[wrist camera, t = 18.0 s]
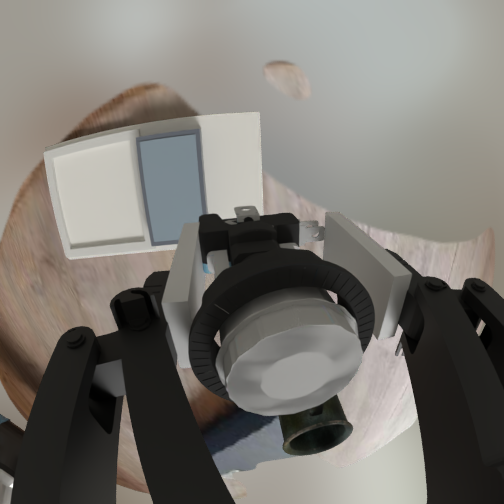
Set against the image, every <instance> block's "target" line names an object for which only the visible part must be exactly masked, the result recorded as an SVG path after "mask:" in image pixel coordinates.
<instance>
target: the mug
mask: <svg viewBox="0 0 504 504" xmlns="http://www.w3.org/2000/svg"><path fill="white" fill-rule="evenodd" d="M279 420H280V425H281V429H282V434H283V438H284V443H283V450H284V451H285V452H286V453H288V454H291V455H298V456H303V455H311V454H316V453H320V452H323V451H326V450H328V449H331V448H333V447H335V446H337V445H339V444H340V443H342V442H343V441H344V440H346V439H347V438H348V437H349V436H350V434H351V433H352V430H353V426H352V424H351V423H349V422H348V421H347V419H346V416H345V414H344V411H343V409H342V406H341V404H340V401H339V399H338V396H337V394H336V395H334V396H333V397H331V398H330V399H328V400H327V401H326V402H324V403H322V404H320V405H318V406H315V407H312V408H310V409H307V410H304V411H301V412H298V413H294V414H285V415H279Z"/></svg>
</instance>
